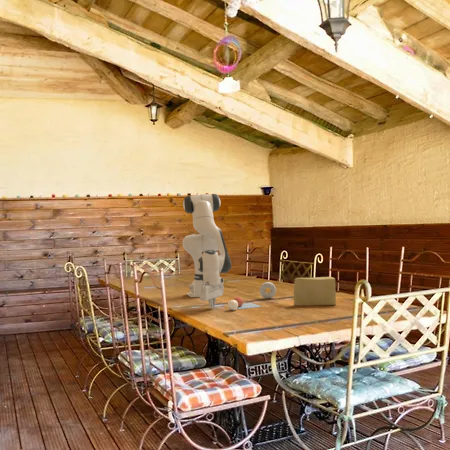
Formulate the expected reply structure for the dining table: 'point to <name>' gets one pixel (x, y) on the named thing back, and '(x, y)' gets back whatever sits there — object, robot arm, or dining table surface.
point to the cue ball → (232, 305)
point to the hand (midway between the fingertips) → (212, 306)
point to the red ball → (239, 301)
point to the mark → (248, 306)
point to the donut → (267, 285)
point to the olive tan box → (315, 291)
